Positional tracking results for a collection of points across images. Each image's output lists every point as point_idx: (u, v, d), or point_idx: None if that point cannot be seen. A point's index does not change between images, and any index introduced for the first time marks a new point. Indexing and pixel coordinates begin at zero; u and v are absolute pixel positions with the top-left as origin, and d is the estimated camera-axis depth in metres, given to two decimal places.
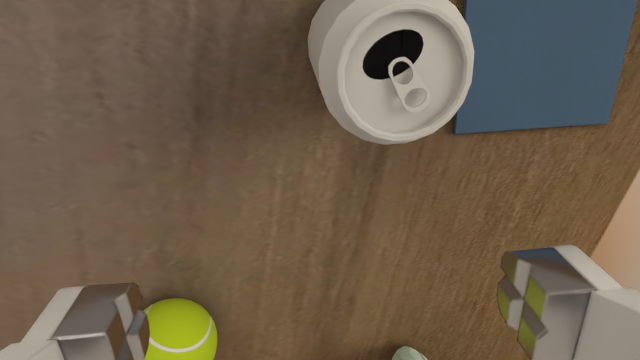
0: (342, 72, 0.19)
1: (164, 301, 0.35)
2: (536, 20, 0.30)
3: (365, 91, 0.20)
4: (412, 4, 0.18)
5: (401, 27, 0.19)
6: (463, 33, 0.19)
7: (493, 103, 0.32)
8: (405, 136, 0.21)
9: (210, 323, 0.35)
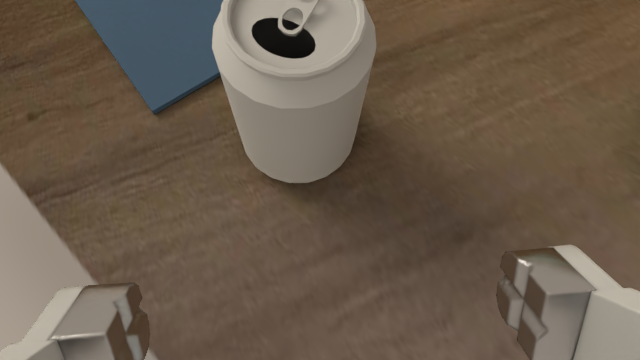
0: (326, 62, 0.18)
1: None
2: (193, 18, 0.32)
3: (329, 39, 0.19)
4: (231, 43, 0.18)
5: (255, 45, 0.18)
6: None
7: None
8: None
9: None
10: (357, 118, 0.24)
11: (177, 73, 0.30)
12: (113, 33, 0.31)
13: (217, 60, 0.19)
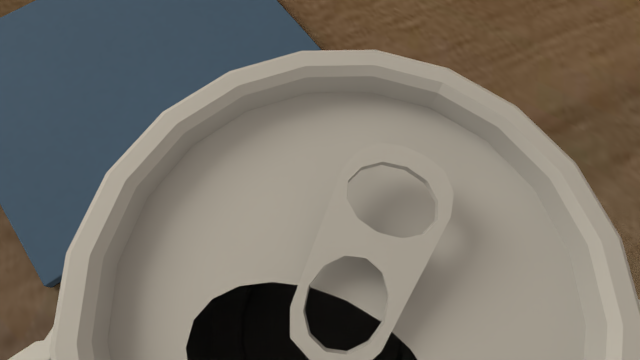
0: None
1: None
2: (130, 96, 0.18)
3: None
4: None
5: None
6: (96, 201, 0.05)
7: None
8: (525, 138, 0.05)
9: None
10: None
11: None
12: None
13: None
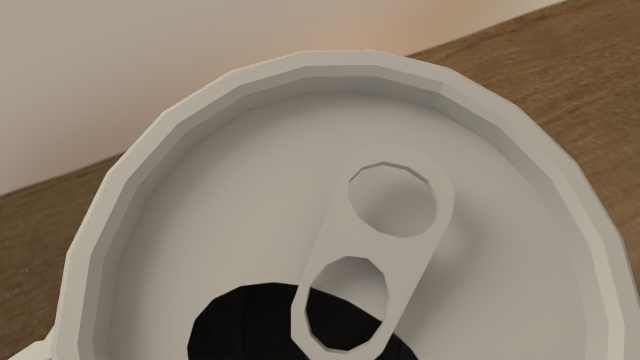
0: None
1: None
2: None
3: None
4: None
5: None
6: (97, 201, 0.05)
7: None
8: (526, 138, 0.05)
9: None
10: None
11: None
12: None
13: None
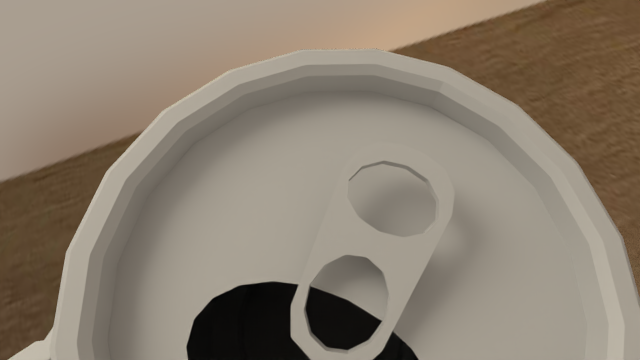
0: None
1: None
2: None
3: None
4: None
5: None
6: (96, 200, 0.05)
7: None
8: (526, 137, 0.05)
9: None
10: None
11: None
12: None
13: None
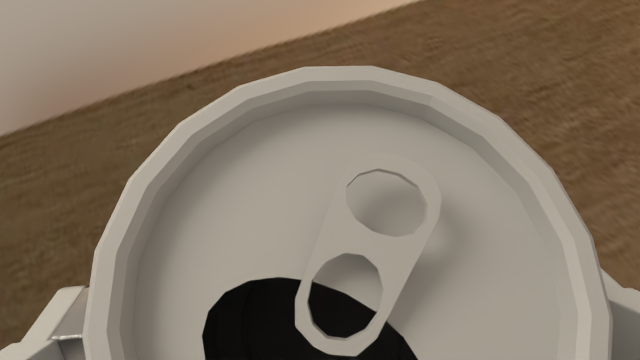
0: None
1: None
2: None
3: None
4: None
5: None
6: (120, 204, 0.05)
7: None
8: (507, 146, 0.06)
9: None
10: None
11: None
12: None
13: None
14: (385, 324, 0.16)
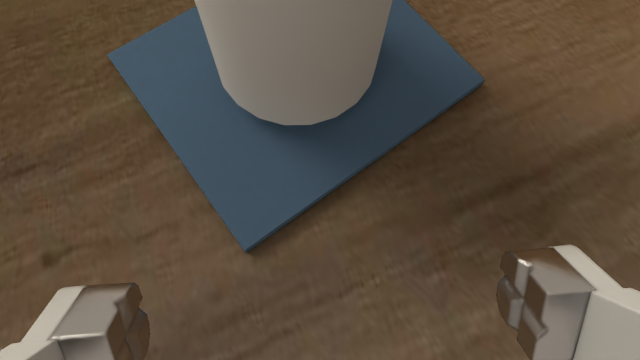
0: None
1: None
2: None
3: None
4: None
5: None
6: None
7: (414, 63, 0.22)
8: None
9: None
10: (387, 10, 0.15)
11: (279, 182, 0.19)
12: (174, 116, 0.20)
13: None
14: None
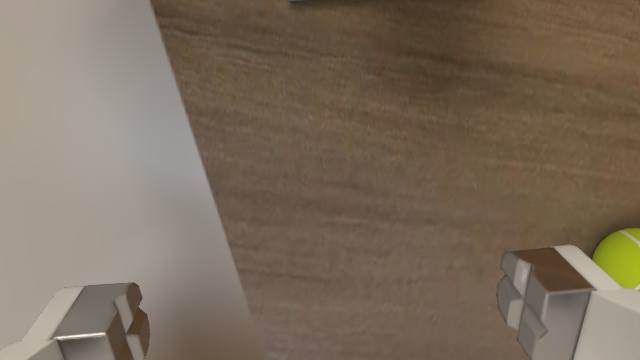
0: None
1: None
2: None
3: None
4: None
5: None
6: None
7: None
8: None
9: (630, 237, 0.37)
10: None
11: None
12: None
13: None
14: None
